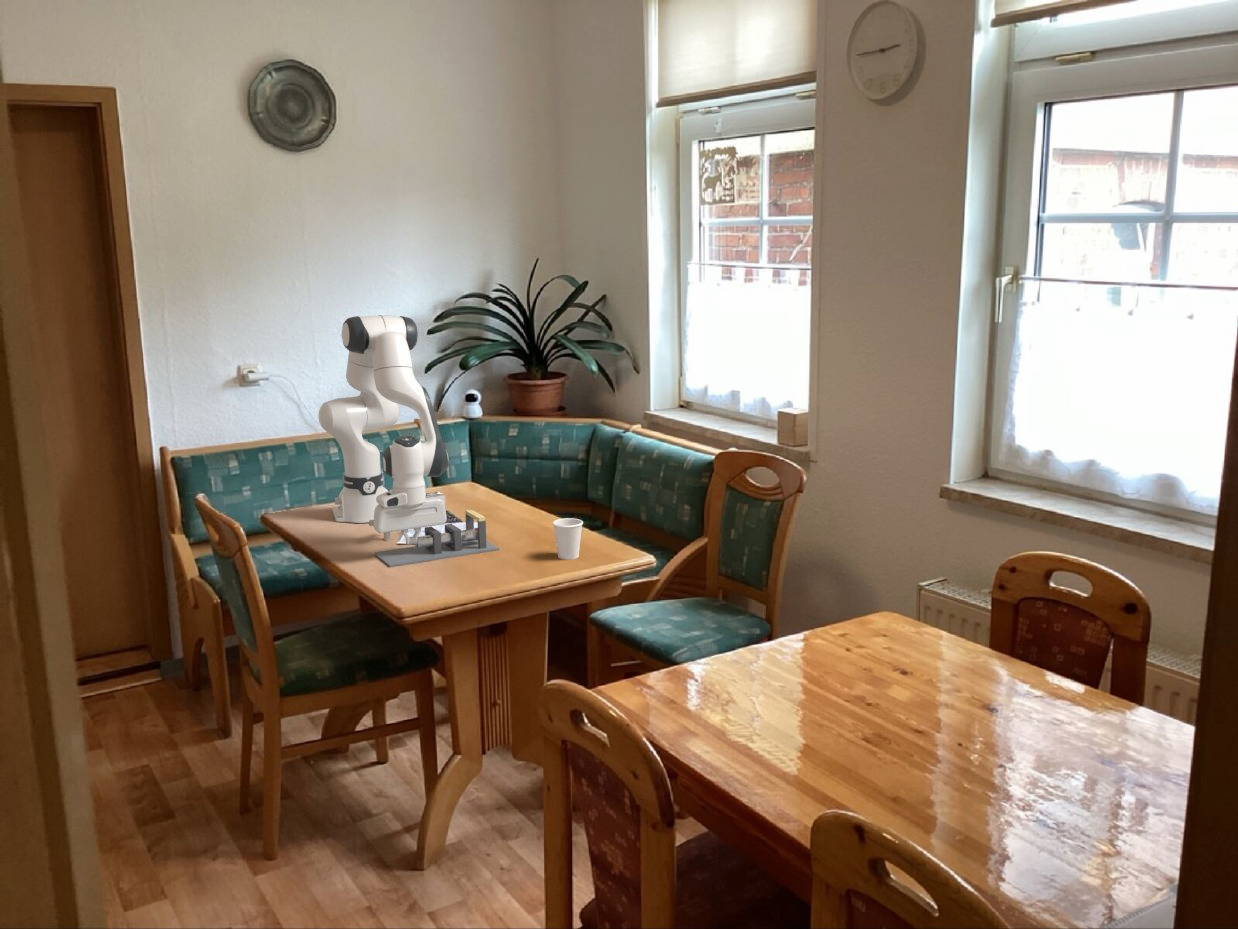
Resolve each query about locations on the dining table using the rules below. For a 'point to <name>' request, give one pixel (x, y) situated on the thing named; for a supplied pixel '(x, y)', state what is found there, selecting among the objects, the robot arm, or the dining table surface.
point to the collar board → (442, 551)
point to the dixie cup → (568, 537)
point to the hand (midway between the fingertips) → (411, 543)
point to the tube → (447, 538)
